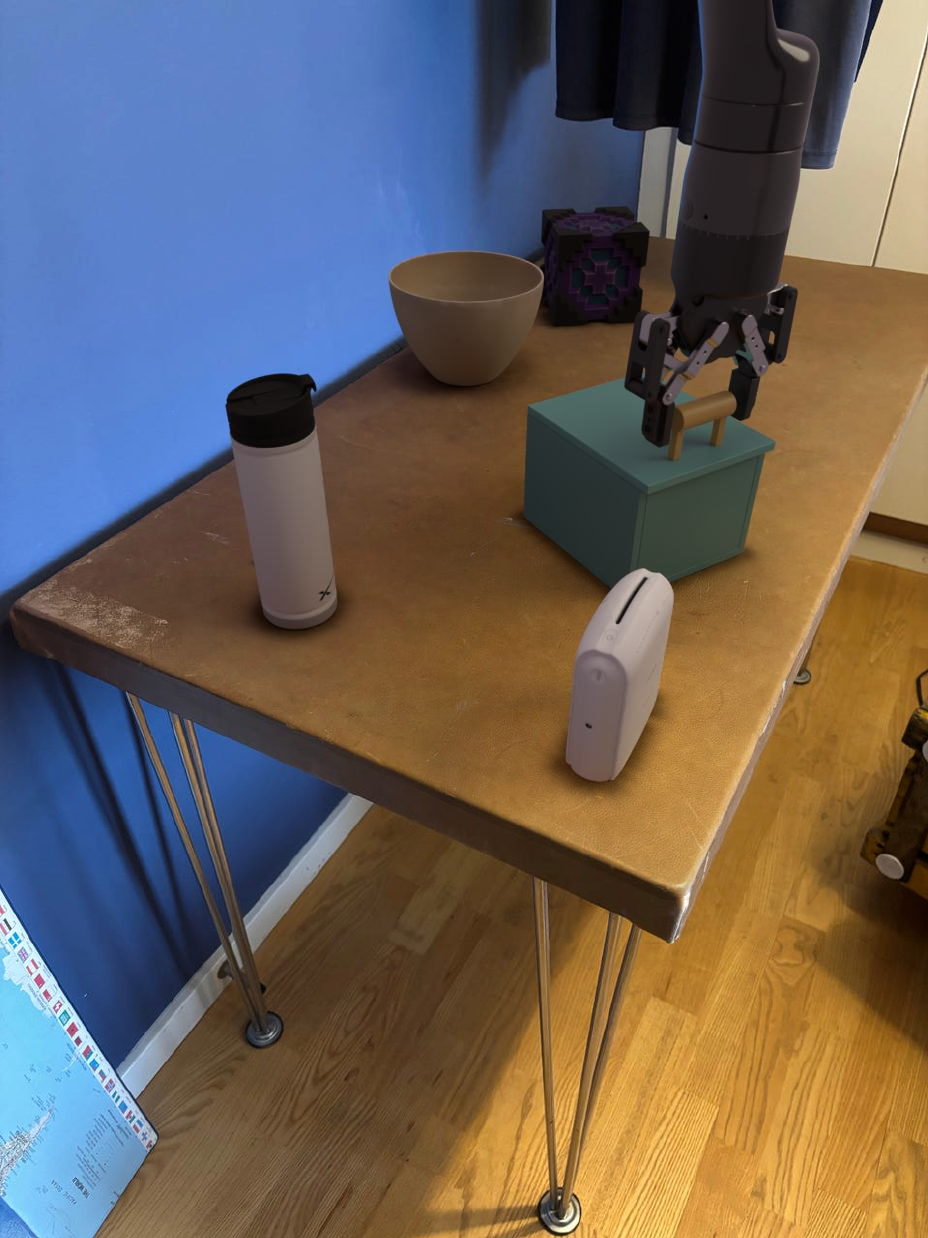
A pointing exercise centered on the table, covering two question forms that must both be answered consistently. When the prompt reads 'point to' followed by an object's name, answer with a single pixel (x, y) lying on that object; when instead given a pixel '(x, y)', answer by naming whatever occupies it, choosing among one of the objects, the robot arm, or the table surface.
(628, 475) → the lid
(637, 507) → the chest
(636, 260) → the energy cube
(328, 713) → the table surface
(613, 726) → the photo printer
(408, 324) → the beige bowl
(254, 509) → the travel mug
